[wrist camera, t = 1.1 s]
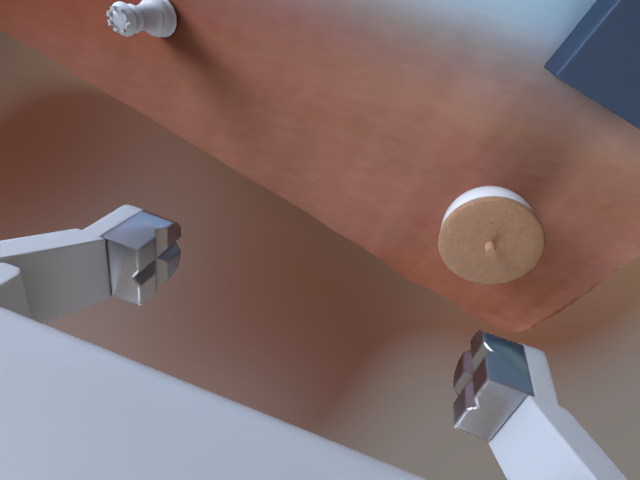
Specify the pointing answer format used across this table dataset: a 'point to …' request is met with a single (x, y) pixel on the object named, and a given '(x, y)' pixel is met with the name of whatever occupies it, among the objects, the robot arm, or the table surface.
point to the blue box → (605, 57)
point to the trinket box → (491, 236)
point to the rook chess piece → (143, 18)
